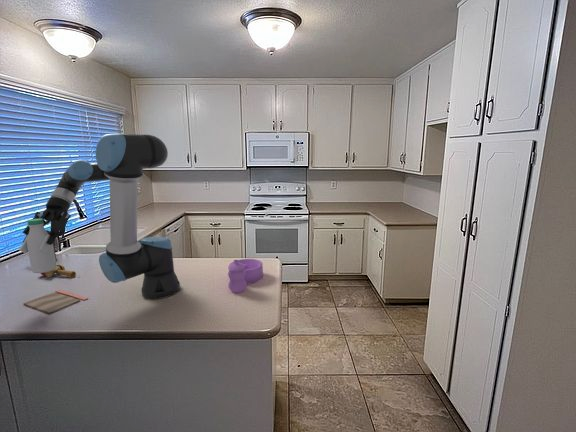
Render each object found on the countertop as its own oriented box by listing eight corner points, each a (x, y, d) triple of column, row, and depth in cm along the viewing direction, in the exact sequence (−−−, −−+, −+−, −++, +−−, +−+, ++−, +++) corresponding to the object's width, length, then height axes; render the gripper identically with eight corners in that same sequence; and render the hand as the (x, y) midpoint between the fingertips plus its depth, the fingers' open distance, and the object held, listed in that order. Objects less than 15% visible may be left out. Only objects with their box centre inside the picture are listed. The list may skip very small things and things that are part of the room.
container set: (235, 270, 154) (233, 245, 151) (265, 271, 152) (264, 245, 149) (217, 293, 130) (215, 263, 127) (253, 295, 128) (251, 264, 125)
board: (80, 301, 126) (79, 299, 126) (49, 314, 116) (49, 312, 116) (54, 293, 134) (54, 292, 134) (23, 304, 124) (23, 303, 124)
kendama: (81, 276, 156) (50, 269, 159) (79, 265, 153) (47, 258, 157) (68, 285, 149) (36, 277, 152) (65, 273, 146) (33, 266, 150)
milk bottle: (60, 268, 123) (51, 218, 119) (37, 275, 117) (26, 222, 113) (52, 265, 127) (42, 216, 123) (28, 271, 121) (18, 220, 117)
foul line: (87, 299, 128) (87, 298, 127) (84, 300, 126) (84, 299, 126) (59, 290, 136) (59, 289, 136) (55, 291, 135) (55, 291, 135)
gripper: (89, 206, 131) (64, 256, 119) (45, 206, 134) (16, 255, 121) (77, 195, 125) (49, 247, 112) (31, 196, 127) (-1, 246, 115)
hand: (32, 251), depth 117 cm, fingers closed on milk bottle, 7 cm apart
